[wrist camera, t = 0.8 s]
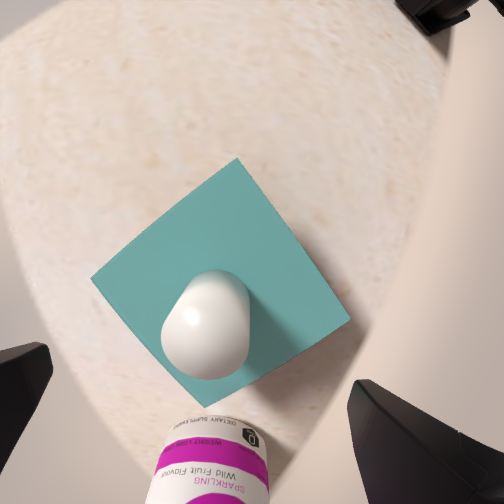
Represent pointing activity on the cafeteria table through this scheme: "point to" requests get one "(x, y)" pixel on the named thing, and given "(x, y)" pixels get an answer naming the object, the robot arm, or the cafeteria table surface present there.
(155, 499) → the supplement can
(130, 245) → the lid
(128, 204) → the cafeteria table surface
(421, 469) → the robot arm
